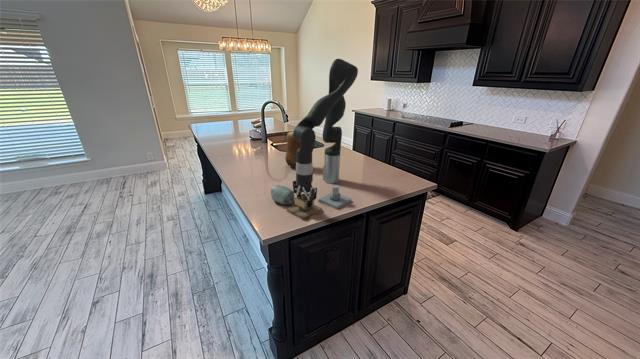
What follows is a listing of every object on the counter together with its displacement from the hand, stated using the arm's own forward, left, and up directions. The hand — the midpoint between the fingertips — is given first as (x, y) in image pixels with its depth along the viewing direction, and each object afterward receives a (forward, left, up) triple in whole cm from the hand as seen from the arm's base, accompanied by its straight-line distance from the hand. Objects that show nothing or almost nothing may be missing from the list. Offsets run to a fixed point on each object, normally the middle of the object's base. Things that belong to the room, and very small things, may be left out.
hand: (304, 204), depth 119 cm
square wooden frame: (0, 0, 0) cm, 0 cm away
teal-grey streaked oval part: (-15, -1, -4) cm, 16 cm away
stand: (0, 0, -4) cm, 4 cm away
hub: (+4, +18, -4) cm, 19 cm away
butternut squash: (-49, +39, -4) cm, 63 cm away
